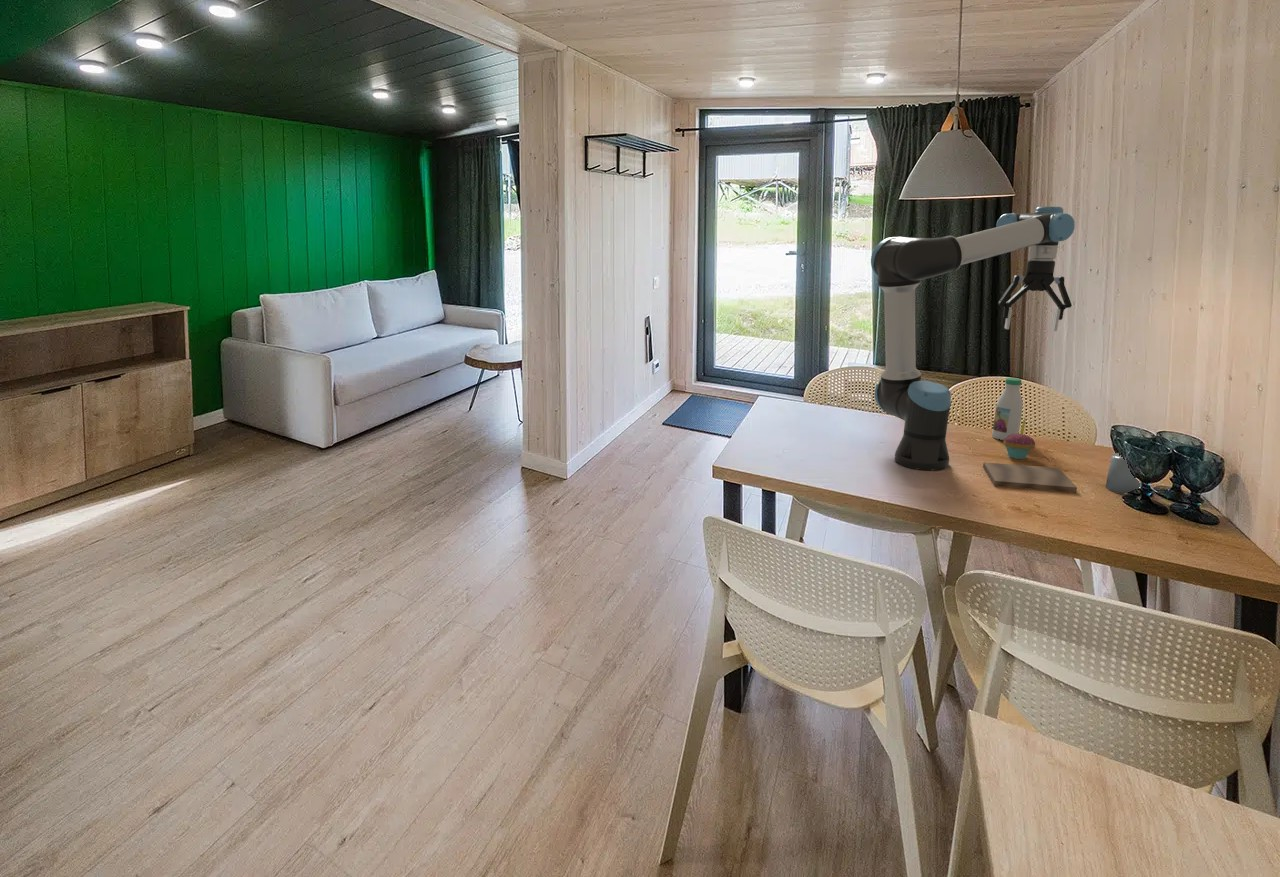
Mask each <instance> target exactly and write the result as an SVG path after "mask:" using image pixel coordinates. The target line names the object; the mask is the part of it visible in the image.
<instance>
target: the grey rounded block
mask: <svg viewBox="0 0 1280 877" xmlns="http://www.w3.org/2000/svg"><path fill="white" fill-rule="evenodd" d="M1119 453H1120V452H1116V453H1115V452H1114V453H1112V454H1111V457H1110V463H1109V467H1108V472H1107V478H1106V482H1105V489H1107V490H1108V491H1110V492H1114V493H1116V494H1120V495H1125V494H1124V493H1128V492H1130V491H1132V490H1135V489H1138V488H1139V487H1140V483H1139V481H1138V480H1137V479H1135V478H1134V476H1133V475H1132V474H1131V472H1130V469H1129V468H1128V464H1127V461H1126V460H1124V459H1123V457H1121V455H1120V456H1119Z"/></svg>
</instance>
